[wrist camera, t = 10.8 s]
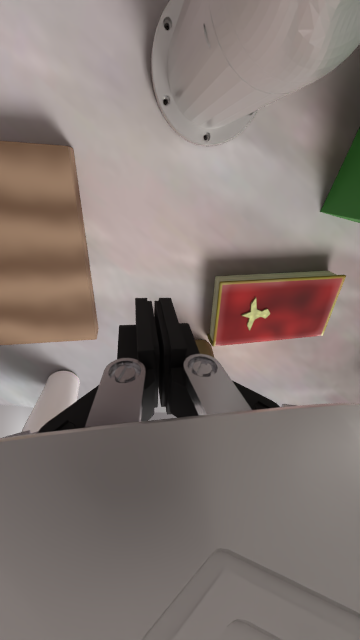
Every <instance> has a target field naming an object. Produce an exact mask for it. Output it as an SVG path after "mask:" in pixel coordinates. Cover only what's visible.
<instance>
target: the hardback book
mask: <svg viewBox="0 0 360 640" xmlns="http://www.w3.org/2000/svg"><path fill="white" fill-rule="evenodd" d="M320 212H323V213H326V214H330V215H333V216H337V217H340V218H344V219H348V220H351V221H355V222H358V223H360V128H359V130H358V132H357V134H356V136H355V138H354V140H353V143H352V145H351V147H350V149H349V151H348V153H347V155H346V158H345V160H344V162H343V164H342V166H341V168H340V170H339V173H338V175H337V177H336V179H335V181H334V183H333V185H332V188H331V190H330V192H329V194H328V196H327V198H326V200H325V203H324V205H323V207H322V209H321V211H320Z"/></svg>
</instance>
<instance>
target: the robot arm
mask: <svg viewBox="0 0 360 640" xmlns="http://www.w3.org/2000/svg"><path fill="white" fill-rule="evenodd" d="M165 25H167V26H168V27H169V30H168V31H167V30H165V28H164V26H165ZM359 44H360V0H169V2H168V4H167V5H166V7H165V9H164V10H163V12H162V14H161V17H160V20H159V22H158V25H157V28H156V31H155V36H154V40H153V46H152V54H151V76H152V83H153V89H154V93H155V96H156V100H157V103H158V105H159V108H160V110H161V112H162V114H163V116H164V118H165V119H166V121H167V122H168V124H169V125H170V127H171V128H172V129H173V130H174V131H175V132H176V133H177V134H178V135H179V136H181V137H182V138H184V139H185V140H187V141H189V142H191V143H194V144H196V145H201V146H214V145H219V144H222V143H225V142H227V141H229V140H231V139H233V138H234V137H236V136H237V135H238V134H240V133H241V132H242V131H243V130H244V129H245V128H246V127H247V126H248V124H249V123H250V122H251V120H252V119H253V117H254V116H255V114H256V113H257V110H258V109H260V108H262V107H264V106H266V105H268V104H271V103H273V102H275V101H277V100H279V99H281V98H283V97H285V96H287V95H289V94H291V93H293V92H295V91H298V90H300V89H302V88H303V87H305V86H307V85H309V84H311V83H313V82H315V81H317V80H318V79H320V78H322V77H323V76H325V75H326V74H328V73H329V72H331V71H332V70H333V69H335V68H336V67H337V66H338V65H340V64H341V63H342V62H343V61H344V60H345V59H346V58H347V57H348V56H349V55H350V54H351V53H352V52H353V51H354V50H355V49H356V48H357V47H358V45H359ZM163 100H167V102H168V104H167V105H164V103H163ZM204 135H206V137H207V139H206V140H204V139H203V137H204ZM135 305H136V325H120V326H119V338H118V354H117V360H115V361H113V362H111V363H110V364H109V365H107V366H106V368H105V370H104V372H103V375H102V378H101V381H100V384H99V385H98V386H97V387H96V388H94V389H93V390H91V391H90V392H89V393H87V394H86V395H84V396H83V397H82V398H80V399H79V400H77V401H76V402H75V403H73V404H72V405H70V406H69V407H68V408H66V409H65V410H64V411H62V412H61V413H59V414H58V415H57V416H55V417H54V418H52V419H51V420H50V421H48V422H47V423H46V424H45V425H44V426H42V427H41V428H40V430H39V431H37V432H34V433H31V431H30V430H28V431H24V432H21V433H17V434H14V435H10V436H6V437H3V438H0V640H360V404H346V403H334V404H315V405H302V406H297V405H287V404H282V407H280V406H279V405H277V404H276V403H275V402H273V401H272V400H270V399H268V398H266V397H264V396H262V395H260V394H258V393H256V392H254V391H252V390H250V389H248V388H246V387H244V386H242V385H240V384H238V383H236V382H234V381H232V380H231V379H230V377H229V376H228V374H227V373H226V371H225V370H224V368H223V367H222V366H221V364H220V363H219V362H218V361H217V360H216V359H215V358H213V357H212V356H209V355H205V354H200V352H199V350H198V347H197V345H196V342H195V339H194V337H193V334H192V331H191V329H190V326H189V324H188V323H180V324H179V322H178V319H177V316H176V313H175V310H174V307H173V303H172V300H171V298H159V301H155V308H154V313H153V307H152V301H147V298H135ZM158 387H159V395H160V402H161V407H166V411H167V414H173V415H174V416H176V417H177V418H171V419H161V420H152V421H148V420H149V419H150V418H151V417H152V416H153V415H154V408H155V407H158Z"/></svg>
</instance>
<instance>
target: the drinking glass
mask: <svg viewBox="0 0 360 640" xmlns="http://www.w3.org/2000/svg"><path fill="white" fill-rule="evenodd" d="M79 385H80V381H79V378H78V377H77V376H76V375H75V374H74V373H72V372H69V371H57V372H55V373H53V374H51V375H50V376H49V378H48V379H47V382H46V384H45V387H44V389H43V391H42V393H41V395H40V397H39V399H38V401H37V402H36V404H35V406H34V408H33V410H32V412H31V414H30V416H29V418H28V420H27V422H26V424H25V426H24V428H23V430H22V432H24V431H28V430H30V431H31V433H34V432H37V431H39V430H40V428H41V427H42V426H44V425H45V424H46V423H47V422H48V421H50V420H51V419H52V418H54V417H55V416H57V415H58V414H59V413H61V412H62V411H64V410H65V409H66V408H68V407H69V406H70V405H72V404H73V403H75V402H76V401H77V398H78V390H79Z"/></svg>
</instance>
